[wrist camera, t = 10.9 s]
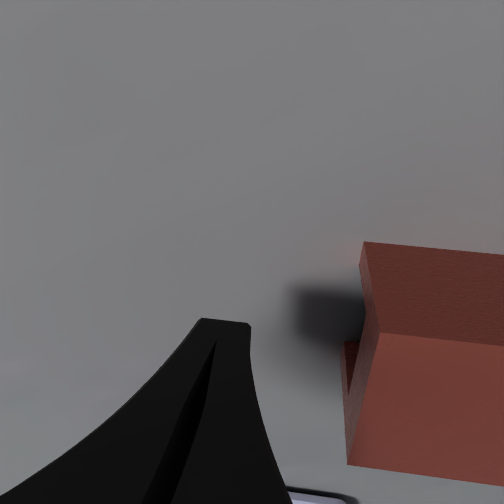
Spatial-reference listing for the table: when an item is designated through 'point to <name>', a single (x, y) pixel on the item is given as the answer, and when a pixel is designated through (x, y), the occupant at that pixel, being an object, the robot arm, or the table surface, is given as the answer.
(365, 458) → the red notched block
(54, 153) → the table surface
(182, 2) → the table surface
